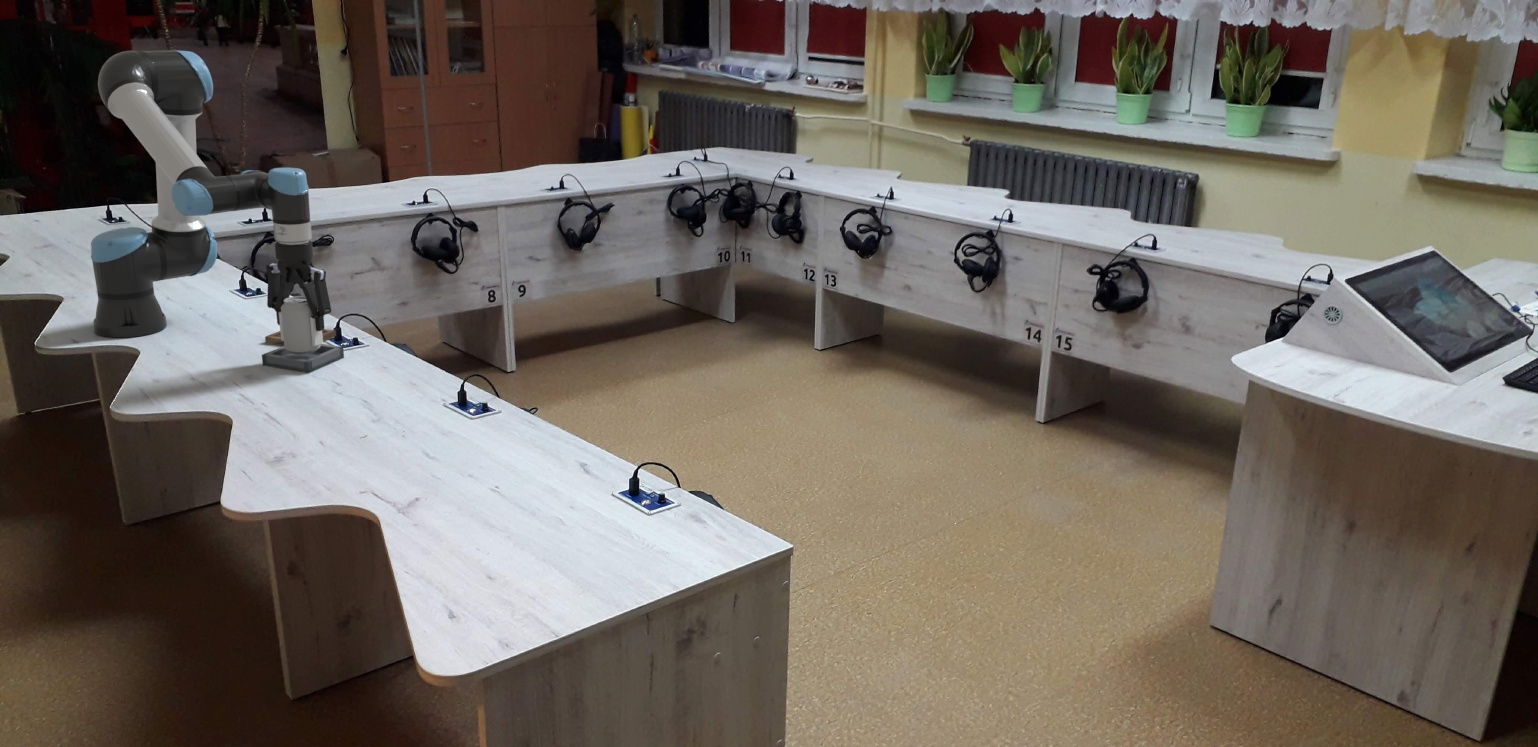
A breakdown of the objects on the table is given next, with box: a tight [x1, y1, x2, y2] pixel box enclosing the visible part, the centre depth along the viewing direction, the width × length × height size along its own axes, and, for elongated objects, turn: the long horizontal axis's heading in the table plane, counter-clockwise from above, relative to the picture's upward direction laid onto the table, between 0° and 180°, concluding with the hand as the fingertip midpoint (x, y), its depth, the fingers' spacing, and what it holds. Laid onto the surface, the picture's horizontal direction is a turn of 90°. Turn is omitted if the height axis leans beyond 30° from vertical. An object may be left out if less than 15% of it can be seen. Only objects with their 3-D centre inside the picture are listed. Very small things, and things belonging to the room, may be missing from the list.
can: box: [281, 295, 322, 355], centre depth 247 cm, size 8×8×12 cm
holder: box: [264, 328, 337, 347], centre depth 264 cm, size 11×11×2 cm
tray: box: [261, 343, 345, 374], centre depth 249 cm, size 12×12×2 cm
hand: (302, 341), depth 248 cm, fingers closed on can, 7 cm apart
